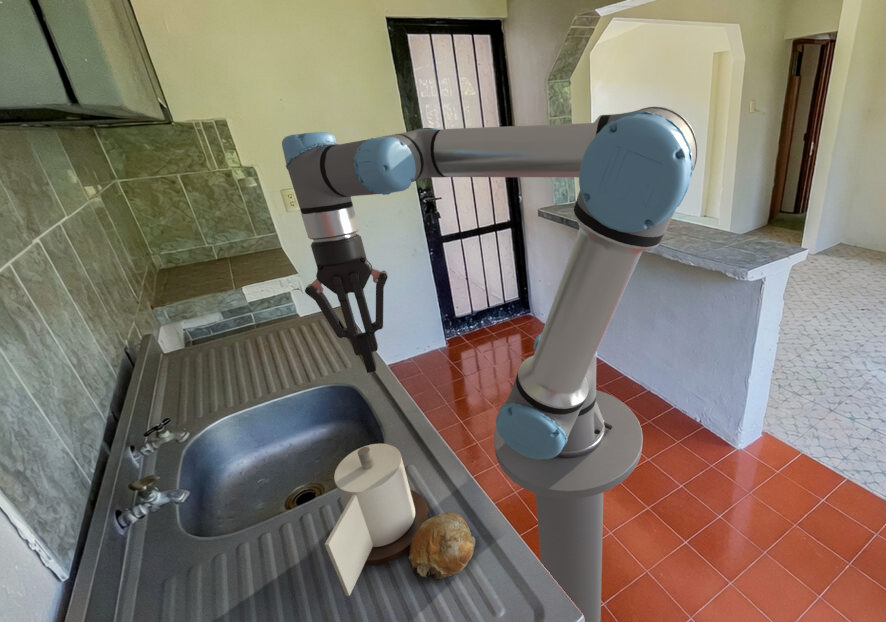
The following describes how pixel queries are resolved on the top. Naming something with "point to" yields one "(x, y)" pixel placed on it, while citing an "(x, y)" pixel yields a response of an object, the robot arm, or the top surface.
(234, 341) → the top surface
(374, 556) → the towel holder
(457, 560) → the bread roll
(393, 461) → the paper towel roll
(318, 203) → the robot arm
